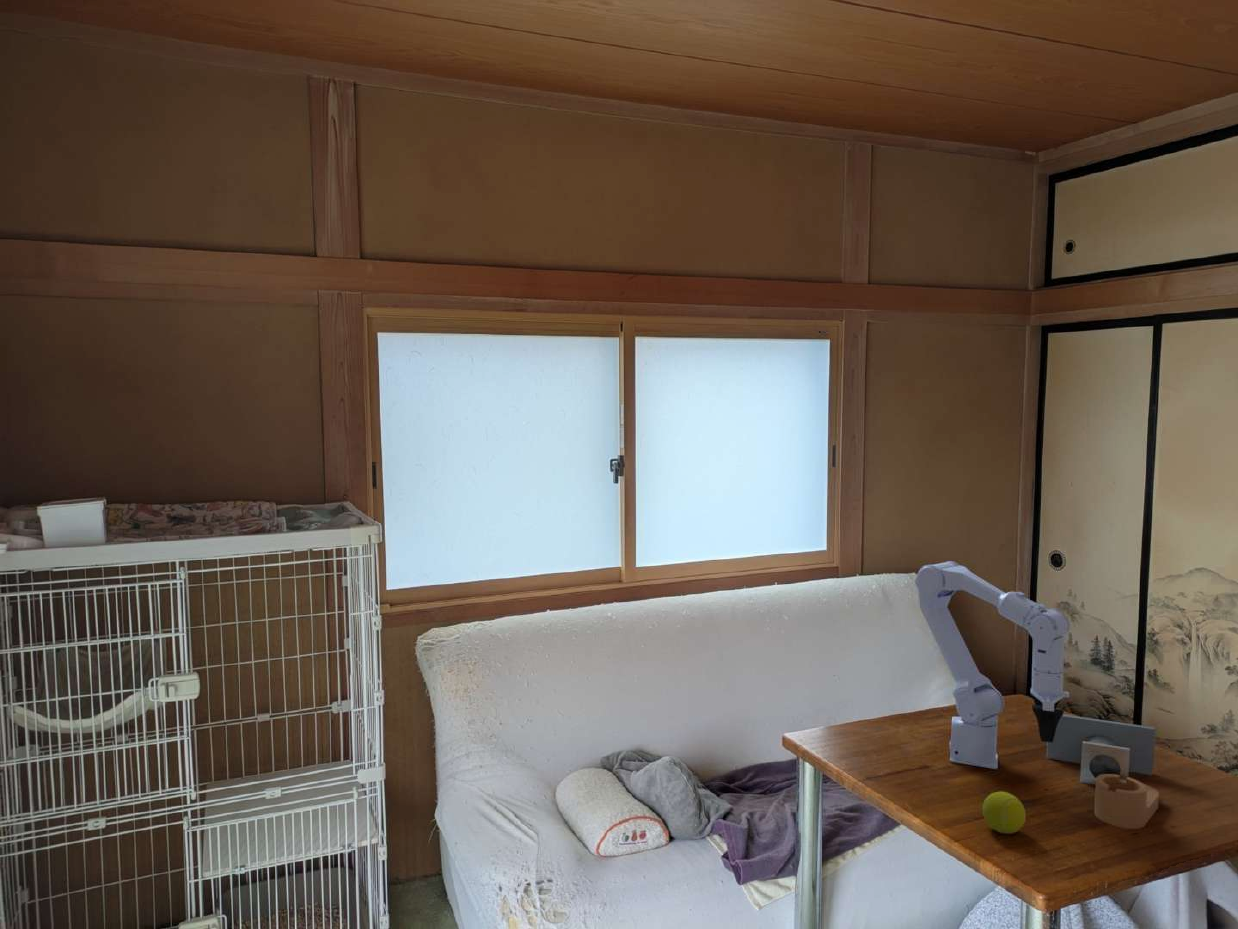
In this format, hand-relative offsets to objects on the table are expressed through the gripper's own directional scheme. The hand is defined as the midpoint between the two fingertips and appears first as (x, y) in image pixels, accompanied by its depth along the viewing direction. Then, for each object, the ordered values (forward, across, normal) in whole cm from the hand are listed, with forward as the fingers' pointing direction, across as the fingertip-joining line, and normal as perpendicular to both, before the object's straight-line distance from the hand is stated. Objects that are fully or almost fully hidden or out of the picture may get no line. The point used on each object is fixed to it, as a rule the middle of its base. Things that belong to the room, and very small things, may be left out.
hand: (1046, 735), depth 174 cm
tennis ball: (+11, -25, +8) cm, 28 cm away
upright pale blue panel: (+10, +10, -11) cm, 18 cm away
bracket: (+11, -5, -14) cm, 19 cm away
